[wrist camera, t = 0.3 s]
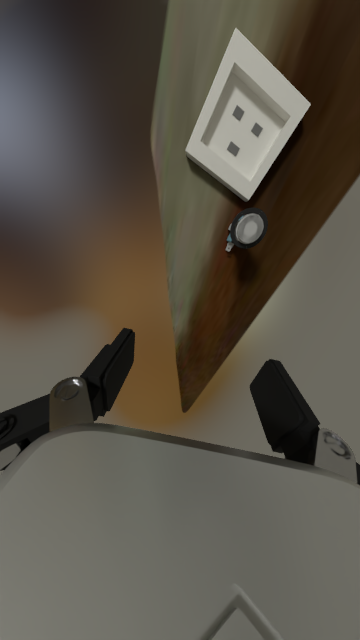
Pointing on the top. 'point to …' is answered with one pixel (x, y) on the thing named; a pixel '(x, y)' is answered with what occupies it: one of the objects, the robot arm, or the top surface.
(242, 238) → the push button
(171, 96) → the top surface
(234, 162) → the socket plate
